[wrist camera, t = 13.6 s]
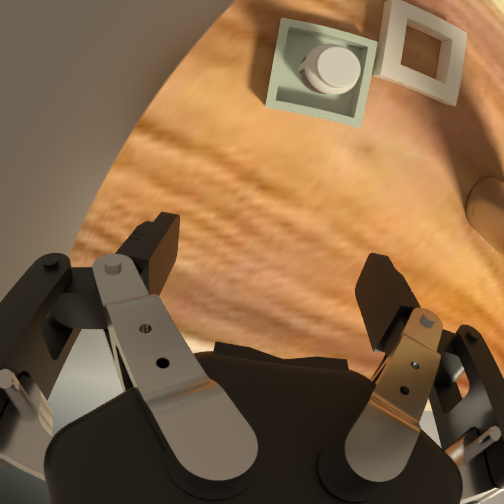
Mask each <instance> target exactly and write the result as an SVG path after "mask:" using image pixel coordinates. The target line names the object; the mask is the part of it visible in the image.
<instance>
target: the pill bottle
mask: <svg viewBox="0 0 504 504" xmlns="http://www.w3.org/2000/svg"><path fill="white" fill-rule="evenodd" d="M360 71H361V68H360V63H359V60H358V58H357V57H356V56H355V54H354V53H352V52H351V51H350V50H348V49H346V48H344V47H342V46H340V45H337V44H322V45H319V46H317V47H315V48H314V49H312V50H311V51H310V52H309V53H308V54H307V55H306V56H305V57H304V58H303V60H302V61H301V63H300V66H299V76H300V79H301V81H302V83H303V84H304V85H305V86H306V87H307V88H308V89H309V90H311V91H313V92H315V93H319V94H329V95H338V94H342V93H345V92H347V91H349V90H350V89H351V88H352V87H353V86H354V85H355V84H356V82H357V80H358V78H359V75H360Z"/></svg>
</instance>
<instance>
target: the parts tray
mask: <svg viewBox="0 0 504 504" xmlns="http://www.w3.org/2000/svg"><path fill="white" fill-rule="evenodd" d="M377 43H378V42H376V41H373V40H370V39H367V38H364V37H361V36H358V35H355V34H351V33H348V32H344V31H341V30H337V29H333V28H329V27H325V26H321V25H317V24H312V23H308V22H303V21H298V20H293V19H287V18H282V17H281V21H280V27H279V32H278V38H277V43H276V49H275V54H274V60H273V65H272V71H271V76H270V82H269V88H268V93H267V99H266V105H265V107H266V108H272V109H277V110H283V111H288V112H293V113H298V114H303V115H308V116H312V117H317V118H321V119H325V120H330V121H334V122H338V123H342V124H346V125H349V126H353V127H357V128H361V123H362V119H363V114H364V110H365V105H366V101H367V96H368V91H369V86H370V81H371V76H372V71H373V66H374V60H375V55H376V49H377ZM322 44H337V45H340V46H342V47H344V48H346V49H348V50H350V51H351V52H352V53H354V54H355V56H356V57H357V58H358V60H359V63H360V68H361V71H360V75H359V78H358V80H357V82H356V84H355V85H354V86H353V87H352V88H351V89H350V90H349V91H347V92H345V93H342V94H338V95H329V94H319V93H315V92H313V91H311V90H309V89H308V88H307V87H306V86H305V85H304V84H303V83H302V81H301V79H300V76H299V66H300V63H301V61H302V60H303V58H304V57H305V56H306V55H307V54H308V53H309V52H310V51H311V50H312V49H314V48H315V47H317V46H319V45H322Z"/></svg>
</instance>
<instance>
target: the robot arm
mask: <svg viewBox="0 0 504 504" xmlns="http://www.w3.org/2000/svg"><path fill="white" fill-rule="evenodd" d="M466 211H467V218H468V221H469V223H470V225H471V226H472V227H473V228H474V229H475V230H476V231H477V232H478V233H479V234H480V235H481V236H482V237H484V239H485V240H487V241H488V242H489V243H490V244H491V245H492V246H493V247H494V248H495V249H496V250H497V251H498V252H499V253H500V254H501V255H502V256H503V257H504V183H503V182H502V181H500V180H498V179H496V178H494V177H487V178H485V179H482V180H481V181H480V182H478V183H477V184H476V185H475V187H474V188H473V190H472V191H471V193H470V196H469V198H468V202H467V208H466ZM179 226H180V215H178V214H172V213H167V212H161V213H160V214H159V215H158V217H157V218H156V219H155V220H154V222H150V221H146V222H144V223H142V224H140V225H138V226H137V227H136V229H135V230H134V231H133V233H131V235H130V236H129V237H128V239H127V240H126V241H125V242H124V243H123V244H122V246H121V247H120V248H119V249H118V251H117V252H116V253H115V254H108V255H104V256H101V257H99V258H98V259H97V260H95V262H94V263H93V266H92V267H71V263H70V259H69V258H68V257H67V256H66V255H64V254H61V253H51V254H47V255H44V256H42V257H40V258H38V259H37V260H36V261H35V262H34V263H33V265H32V266H31V267H30V268H29V269H28V270H27V271H26V272H25V274H24V275H23V276H22V277H21V278H20V279H19V281H18V282H17V283H16V284H15V285H14V286H13V288H12V289H11V290H10V291H9V292H8V294H7V295H6V296H5V298H4V299H3V300H2V301H1V302H0V465H1V466H3V467H6V468H16V467H18V468H20V469H22V470H24V471H26V472H28V473H30V474H32V475H34V476H36V477H38V478H40V479H42V480H45V481H46V485H47V490H48V497H49V504H479V503H481V502H483V501H485V500H487V499H489V498H491V497H492V496H494V495H496V494H498V493H499V492H501V491H503V490H504V379H503V377H502V374H501V372H500V370H499V368H498V366H497V364H496V362H495V360H494V358H493V356H492V354H491V352H490V350H489V348H488V346H487V344H486V343H485V341H484V339H483V337H482V336H481V334H480V333H479V332H478V331H477V330H476V329H474V328H473V327H471V326H469V325H461V326H460V327H459V328H458V330H457V331H456V333H452V332H450V331H447V330H444V329H443V324H442V322H441V320H440V319H439V317H438V316H437V315H436V314H434V313H433V312H431V311H430V310H428V309H425V308H421V307H420V305H419V303H418V301H417V299H416V298H415V296H414V294H413V292H411V289H410V287H409V285H408V283H407V282H406V280H405V278H404V277H403V276H402V275H401V274H400V273H399V272H398V271H397V270H396V269H395V267H394V266H393V264H392V262H391V261H390V259H389V257H388V256H385V255H380V254H376V253H370V254H369V256H368V258H367V260H366V262H365V265H364V267H363V269H362V272H361V274H360V276H359V279H358V281H357V284H356V288H355V296H356V299H357V302H358V305H359V308H360V311H361V314H362V317H363V320H364V323H365V327H366V330H367V333H368V336H369V339H370V343H371V346H372V349H373V352H385V356H384V357H383V359H382V360H381V362H380V364H379V365H378V367H377V369H376V370H375V372H374V374H373V375H372V377H371V379H370V380H369V379H368V378H366V377H365V376H363V375H361V374H359V373H357V372H355V371H352V370H349V368H348V364H347V359H336V358H326V357H307V358H296V359H281V358H278V357H275V356H272V355H270V354H267V353H264V352H261V351H258V350H255V349H253V348H250V347H244V346H238V345H233V344H227V343H221V342H215V347H214V351H206V352H198V353H194V354H193V353H192V351H191V350H190V348H189V346H188V345H187V343H186V342H185V340H184V338H183V337H182V335H181V333H180V332H179V330H178V328H177V327H176V325H175V323H174V322H173V320H172V318H171V317H170V315H169V313H168V311H167V310H166V308H165V306H164V304H163V303H162V301H161V299H160V297H159V295H160V293H161V291H162V288H163V286H164V284H165V282H166V280H167V278H168V276H169V274H170V272H171V270H172V268H173V265H174V263H175V261H176V257H177V251H178V239H179ZM81 329H103V333H104V336H105V339H106V342H107V345H108V348H109V351H110V354H111V356H112V359H113V362H114V364H115V367H116V370H117V373H118V376H119V379H120V382H121V385H122V388H123V391H124V392H123V393H122V394H120V395H118V396H116V397H115V398H113V399H112V400H110V401H108V402H106V403H105V404H103V405H101V406H99V407H98V408H96V409H94V410H93V411H91V412H89V413H87V414H85V415H84V416H82V417H80V418H78V419H77V420H75V421H73V422H71V423H69V424H68V425H66V426H64V427H63V428H62V429H61V430H59V431H58V432H57V433H56V434H55V435H54V437H53V434H52V426H53V420H54V415H53V411H52V408H51V406H50V405H49V403H48V402H47V400H48V398H49V396H50V393H51V391H52V389H53V386H54V384H55V382H56V380H57V378H58V376H59V374H60V371H61V369H62V367H63V365H64V363H65V361H66V359H67V357H68V355H69V353H70V351H71V348H72V346H73V345H74V343H75V341H76V338H77V337H78V335H79V333H80V331H81ZM464 371H465V373H466V375H467V378H468V380H469V384H470V388H469V392H468V394H467V395H466V396H465V397H464V398H463V399H462V397H461V394H460V391H459V388H458V386H457V383H456V381H457V379H458V378H459V377H460V376H461V375H462V374H463V373H464ZM428 397H429V400H430V404H431V407H432V411H433V415H434V418H435V422H436V426H437V430H438V434H439V438H440V442H441V447H442V449H441V448H440V447H439V446H438V445H437V444H436V443H435V442H434V441H433V440H432V439H431V438H430V437H429V436H428V435H427V434H426V433H425V432H424V431H423V430H422V429H421V427H420V425H419V421H420V419H421V416H422V414H423V411H424V408H425V406H426V403H427V400H428Z"/></svg>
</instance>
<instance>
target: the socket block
mask: <svg viewBox="0 0 504 504" xmlns="http://www.w3.org/2000/svg"><path fill="white" fill-rule="evenodd" d="M406 26H409V27H412V28H414V29H416V30H419V31H421V32H423V33H425V34H427V35H429V36H431V37H434V38H436V39H438V40H440V41H441V47H440V54H439V61H438V67H437V73H436V78H435V79H433V78H431V77H429V76H427V75H424V74H422V73H420V72H418V71H415V70H413V69H410V68H408V67H405V66H403V65H400V64H401V58H402V52H403V46H404V40H405V33H406ZM466 41H467V33H466V32H464V31H463V30H461V29H459V28H457V27H456V26H454V25H452V24H450V23H448V22H447V21H445V20H443V19H441V18H439V17H437V16H435V15H433V14H431V13H429V12H427V11H425V10H423V9H420V8H418V7H416V6H414V5H411V4H409V3H407V2H404V1H402V0H387V1H385V2H384V8H383V15H382V22H381V28H380V35H379V41H378V47H377V52H376V58H375V63H374V69H373V74H372V76H374V77H377V78H380V79H383V80H386V81H389V82H392V83H394V84H397V85H400V86H402V87H405V88H408V89H410V90H413V91H415V92H418V93H420V94H423V95H425V96H427V97H430V98H432V99H434V100H436V101H439V102H441V103H443V104H446V105H451V106H456V103H457V99H458V93H459V88H460V83H461V77H462V71H463V64H464V57H465V49H466Z"/></svg>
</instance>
